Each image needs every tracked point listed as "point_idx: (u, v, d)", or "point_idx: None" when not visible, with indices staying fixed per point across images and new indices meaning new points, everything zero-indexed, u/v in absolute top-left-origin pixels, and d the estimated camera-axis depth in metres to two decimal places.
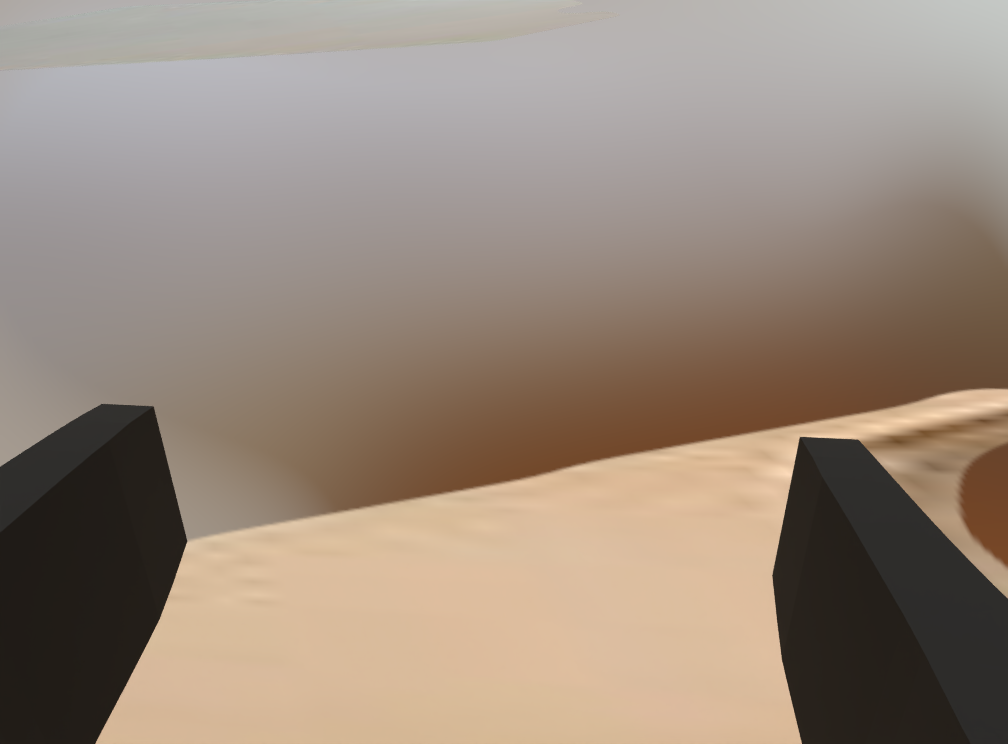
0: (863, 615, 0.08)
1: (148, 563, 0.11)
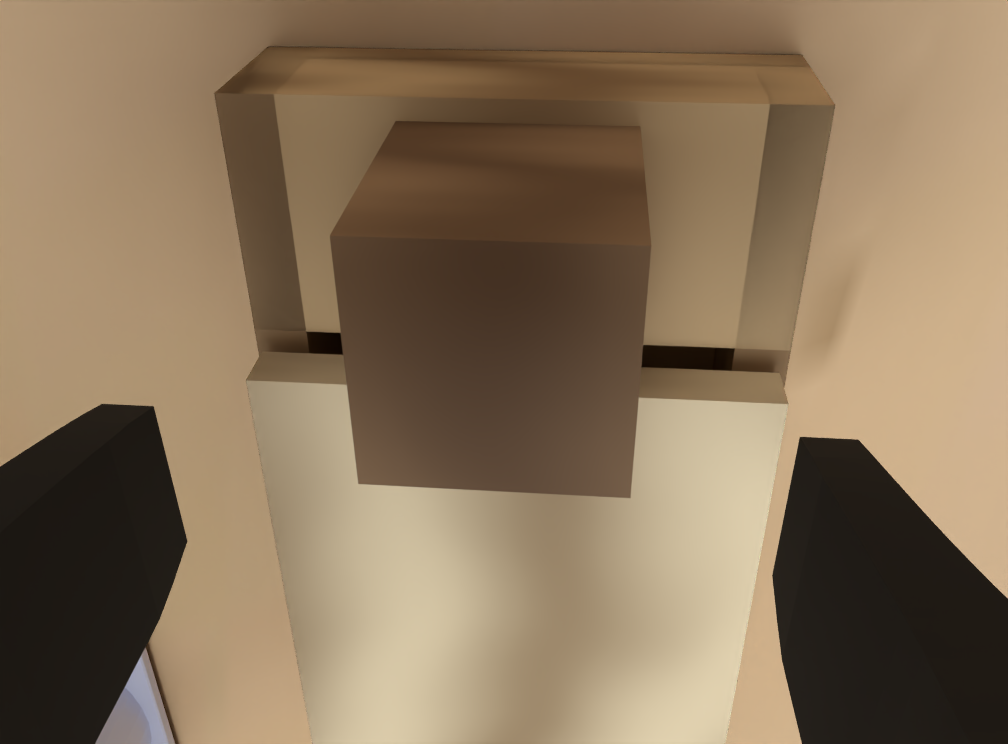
0: (863, 615, 0.08)
1: (148, 563, 0.11)
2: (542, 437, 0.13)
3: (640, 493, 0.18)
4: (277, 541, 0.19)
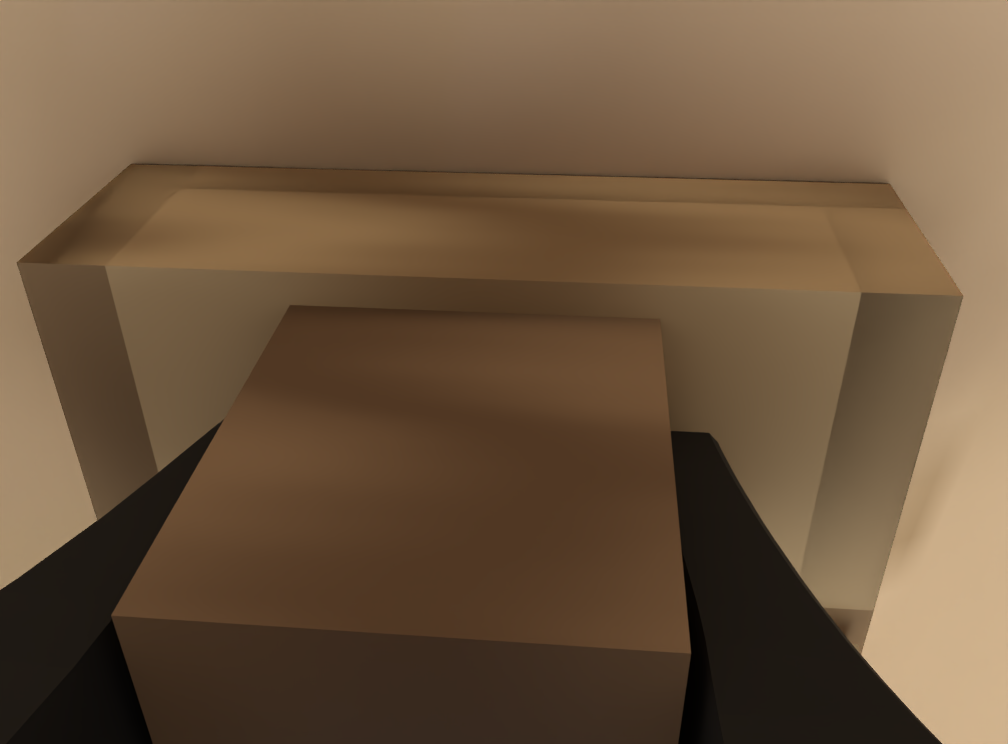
0: None
1: None
2: None
3: None
4: None
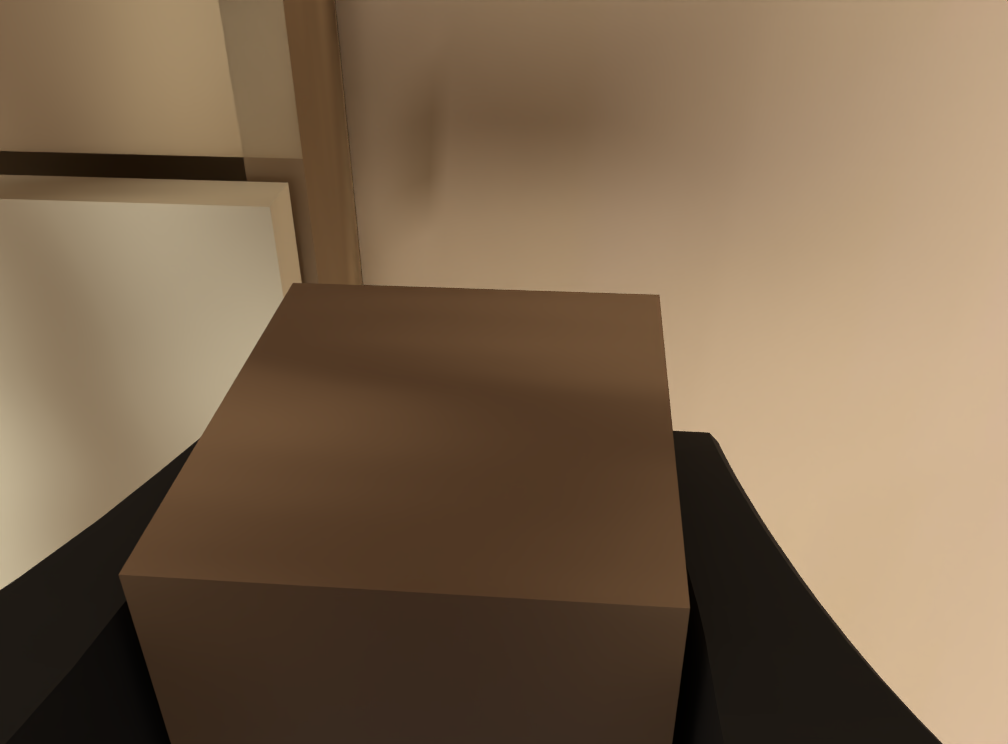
0: None
1: None
2: None
3: (149, 322, 0.16)
4: None
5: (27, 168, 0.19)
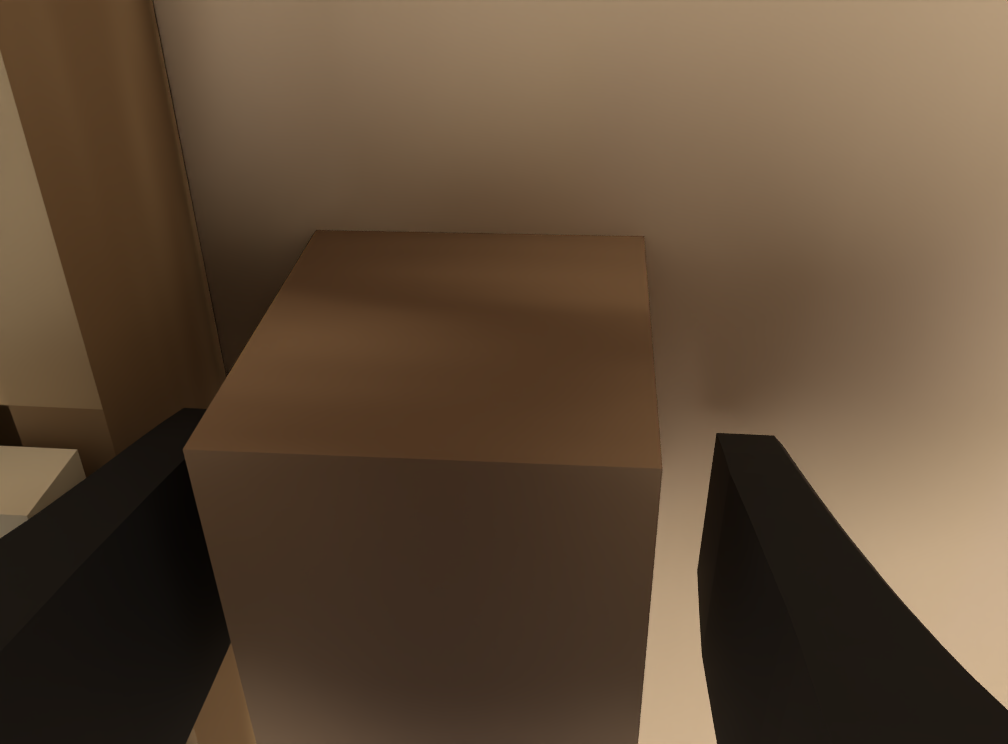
0: (758, 609, 0.08)
1: None
2: (509, 701, 0.09)
3: None
4: None
5: None
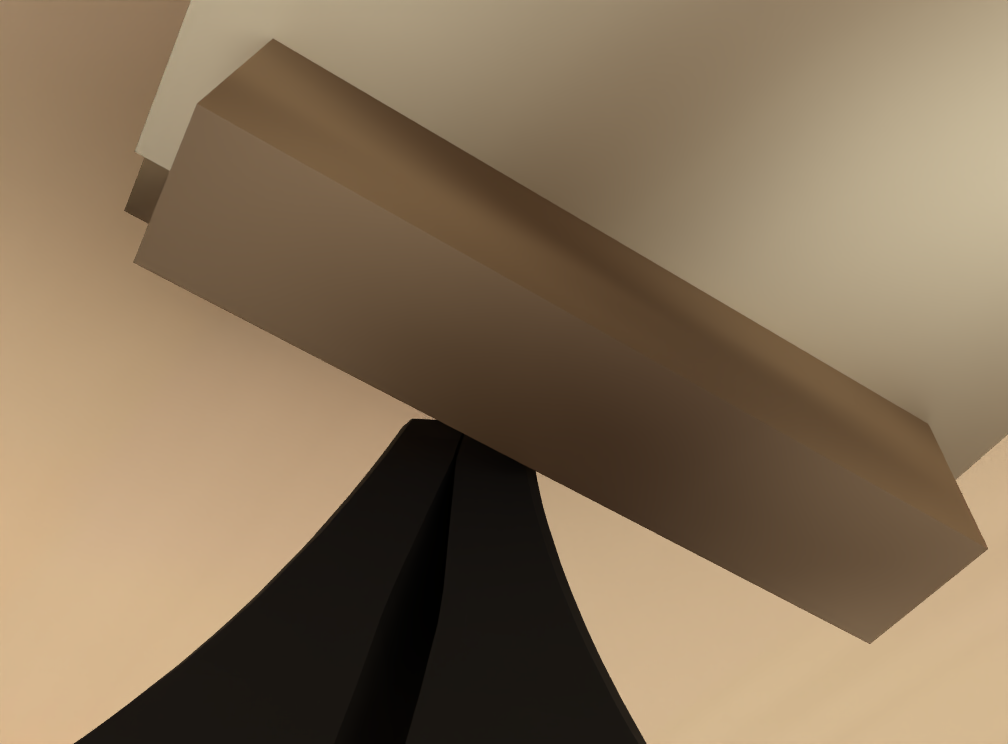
0: None
1: None
2: None
3: None
4: None
5: None
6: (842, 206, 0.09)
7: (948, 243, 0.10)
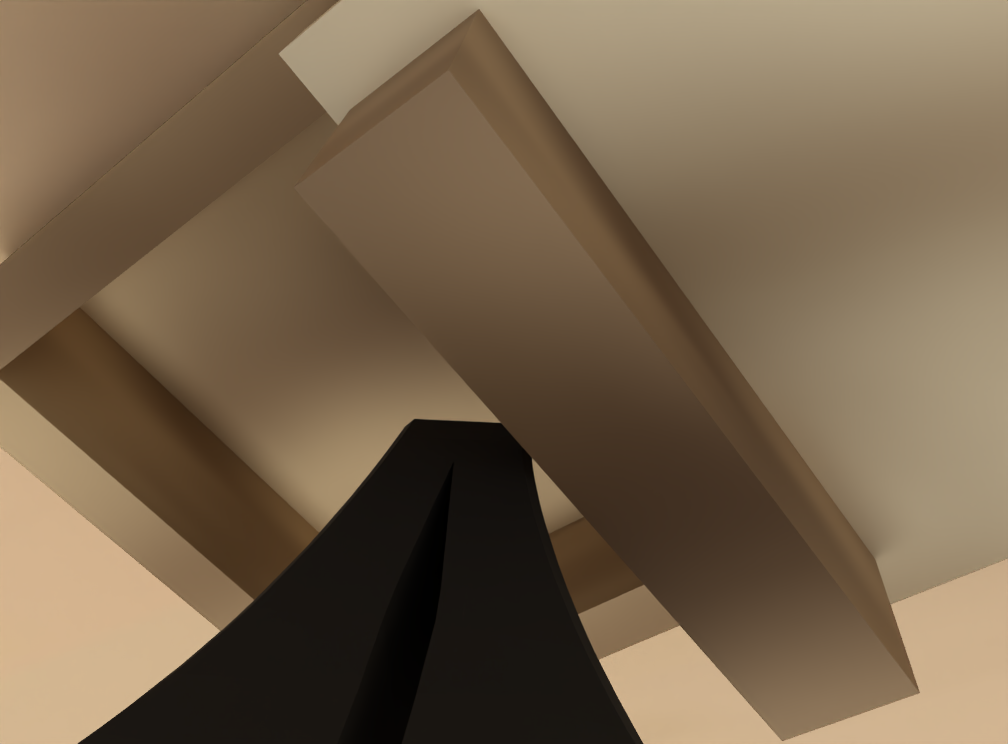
0: None
1: None
2: None
3: None
4: None
5: None
6: (902, 359, 0.10)
7: (967, 420, 0.11)
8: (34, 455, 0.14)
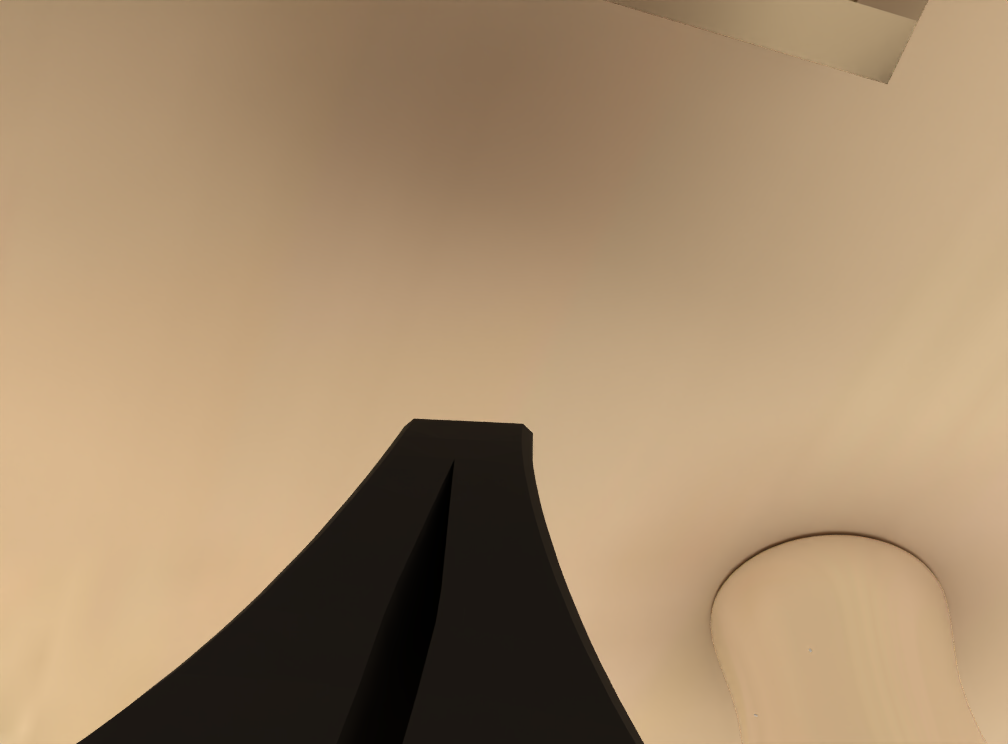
0: None
1: None
2: None
3: None
4: None
5: None
6: None
7: None
8: None
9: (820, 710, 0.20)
